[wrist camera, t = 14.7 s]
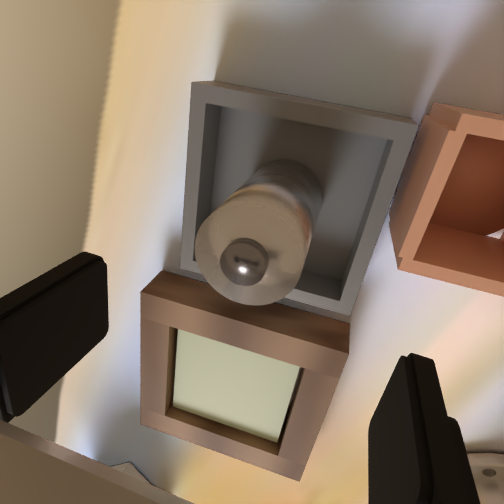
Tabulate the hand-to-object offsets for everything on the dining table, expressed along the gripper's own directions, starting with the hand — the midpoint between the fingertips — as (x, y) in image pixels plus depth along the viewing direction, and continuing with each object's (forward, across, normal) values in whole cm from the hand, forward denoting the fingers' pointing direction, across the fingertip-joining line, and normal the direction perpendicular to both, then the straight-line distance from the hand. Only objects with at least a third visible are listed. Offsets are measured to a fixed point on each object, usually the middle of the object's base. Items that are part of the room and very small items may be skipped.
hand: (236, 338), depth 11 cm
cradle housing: (+13, +2, +14) cm, 19 cm away
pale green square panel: (+12, +2, +14) cm, 18 cm away
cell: (+12, +1, -1) cm, 12 cm away
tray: (+12, +1, -1) cm, 12 cm away
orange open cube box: (+12, -8, -4) cm, 15 cm away
